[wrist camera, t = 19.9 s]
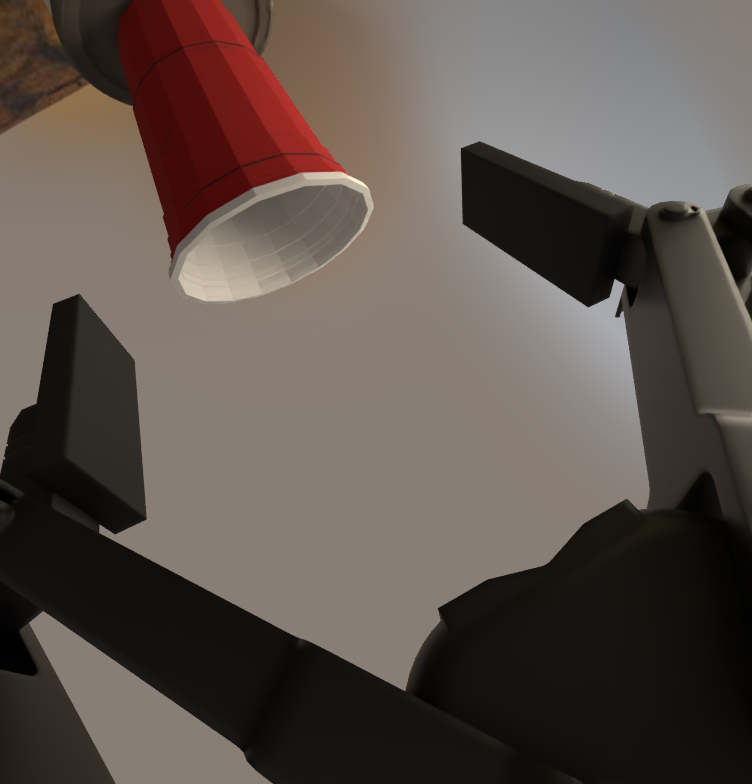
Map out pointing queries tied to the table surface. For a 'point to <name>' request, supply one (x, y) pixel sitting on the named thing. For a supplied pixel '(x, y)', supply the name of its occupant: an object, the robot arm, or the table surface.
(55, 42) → the table surface
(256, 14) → the coffee can
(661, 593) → the robot arm
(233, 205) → the plastic cup
